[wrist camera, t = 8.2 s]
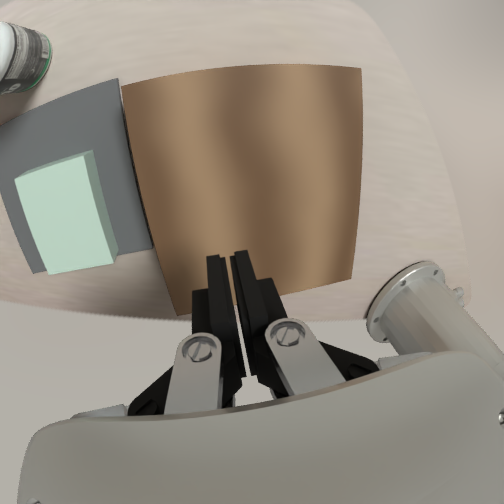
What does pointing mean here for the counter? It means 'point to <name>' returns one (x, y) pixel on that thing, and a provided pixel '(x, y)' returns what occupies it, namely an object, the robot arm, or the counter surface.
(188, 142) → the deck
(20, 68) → the pill bottle
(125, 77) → the counter surface
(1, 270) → the counter surface
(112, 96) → the mat
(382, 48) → the counter surface
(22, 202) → the mint green block
